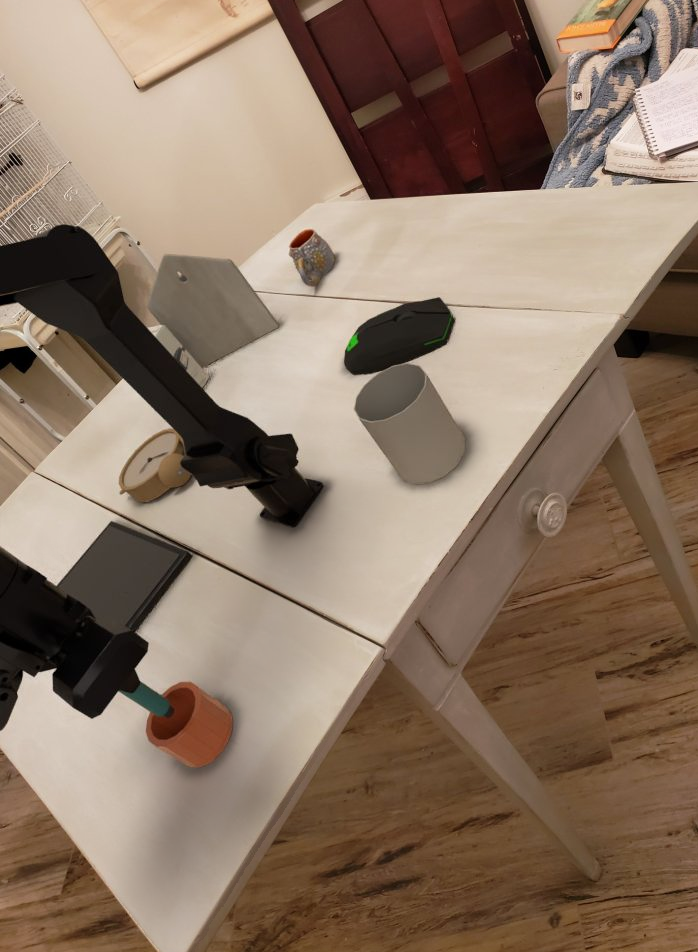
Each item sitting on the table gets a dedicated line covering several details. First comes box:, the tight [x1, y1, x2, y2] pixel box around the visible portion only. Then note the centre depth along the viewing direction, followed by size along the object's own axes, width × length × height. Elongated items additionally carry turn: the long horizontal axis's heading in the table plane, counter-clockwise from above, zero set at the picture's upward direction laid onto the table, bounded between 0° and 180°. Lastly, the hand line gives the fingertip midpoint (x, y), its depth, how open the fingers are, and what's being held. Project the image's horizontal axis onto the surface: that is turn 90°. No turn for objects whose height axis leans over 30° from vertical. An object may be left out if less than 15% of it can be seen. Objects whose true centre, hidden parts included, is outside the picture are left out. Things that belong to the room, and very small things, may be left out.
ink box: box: [147, 324, 210, 389], centre depth 116 cm, size 8×5×12 cm, turn 68°
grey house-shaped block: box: [146, 253, 280, 369], centre depth 118 cm, size 16×8×19 cm, turn 96°
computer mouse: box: [343, 296, 455, 376], centre depth 98 cm, size 11×16×4 cm
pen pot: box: [145, 681, 234, 769], centre depth 67 cm, size 6×6×5 cm
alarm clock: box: [118, 427, 192, 503], centre depth 103 cm, size 11×5×15 cm
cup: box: [353, 362, 466, 485], centre depth 77 cm, size 8×8×10 cm
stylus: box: [118, 680, 174, 718], centre depth 62 cm, size 2×2×11 cm
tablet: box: [56, 520, 193, 633], centre depth 92 cm, size 20×13×1 cm, turn 54°
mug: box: [288, 228, 336, 287], centre depth 123 cm, size 12×7×7 cm, turn 174°
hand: (130, 684), depth 62 cm, fingers closed on stylus, 1 cm apart
